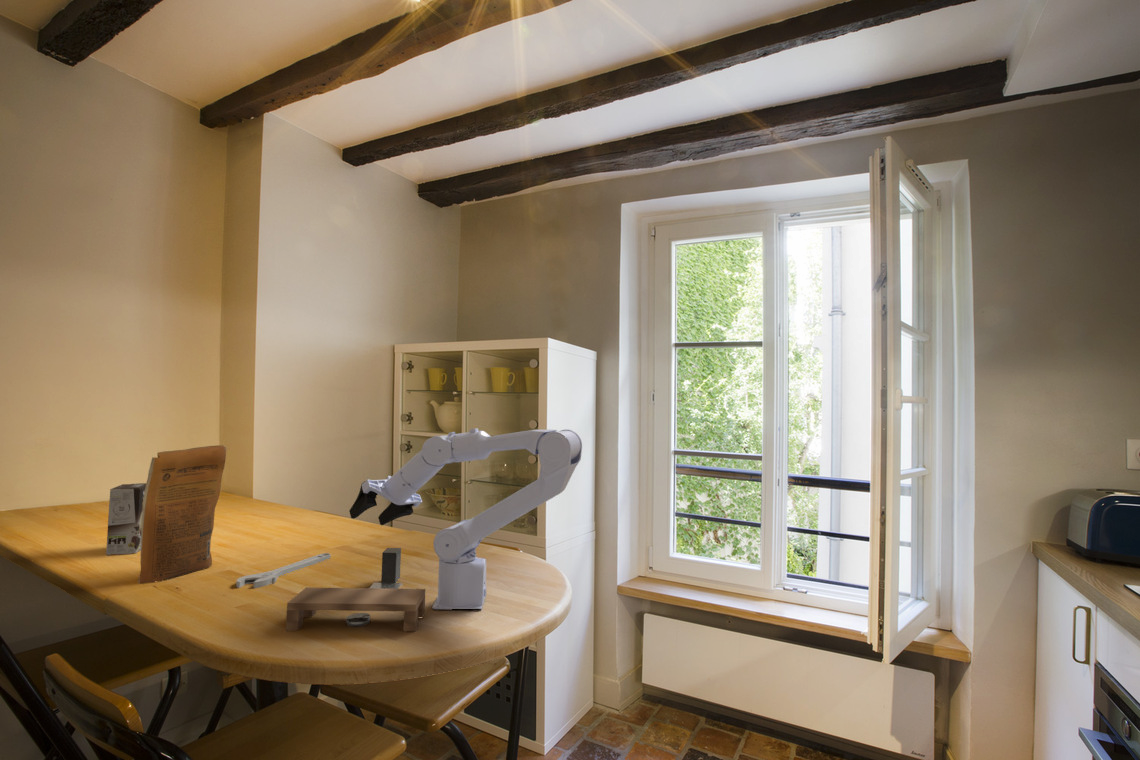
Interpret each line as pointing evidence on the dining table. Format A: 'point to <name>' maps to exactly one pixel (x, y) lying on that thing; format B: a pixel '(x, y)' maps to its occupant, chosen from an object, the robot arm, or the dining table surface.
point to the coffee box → (125, 519)
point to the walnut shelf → (356, 603)
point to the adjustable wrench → (279, 572)
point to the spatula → (390, 569)
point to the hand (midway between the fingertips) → (366, 518)
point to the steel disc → (358, 619)
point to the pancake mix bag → (180, 512)
